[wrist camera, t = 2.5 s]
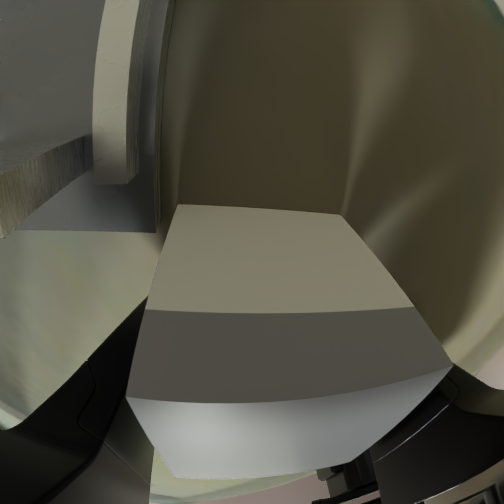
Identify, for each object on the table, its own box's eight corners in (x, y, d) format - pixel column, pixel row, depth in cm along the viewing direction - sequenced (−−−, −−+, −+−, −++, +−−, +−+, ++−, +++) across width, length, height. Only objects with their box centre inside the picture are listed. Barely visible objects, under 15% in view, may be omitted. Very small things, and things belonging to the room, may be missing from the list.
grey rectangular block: (339, 214, 9) (454, 364, 3) (306, 326, 11) (349, 461, 6) (177, 203, 8) (125, 396, 3) (182, 325, 10) (174, 477, 5)
